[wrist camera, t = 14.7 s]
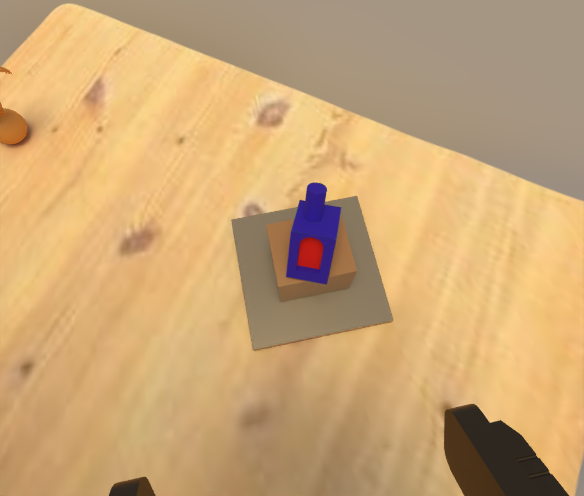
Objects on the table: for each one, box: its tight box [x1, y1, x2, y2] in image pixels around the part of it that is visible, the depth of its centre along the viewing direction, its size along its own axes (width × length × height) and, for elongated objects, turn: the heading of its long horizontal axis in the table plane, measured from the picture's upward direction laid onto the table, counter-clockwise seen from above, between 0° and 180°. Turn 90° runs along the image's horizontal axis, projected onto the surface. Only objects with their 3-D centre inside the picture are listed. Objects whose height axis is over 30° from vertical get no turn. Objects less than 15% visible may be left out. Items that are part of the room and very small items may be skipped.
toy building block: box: [286, 183, 342, 285], centre depth 33 cm, size 4×4×8 cm
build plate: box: [232, 196, 393, 351], centre depth 39 cm, size 14×14×7 cm
